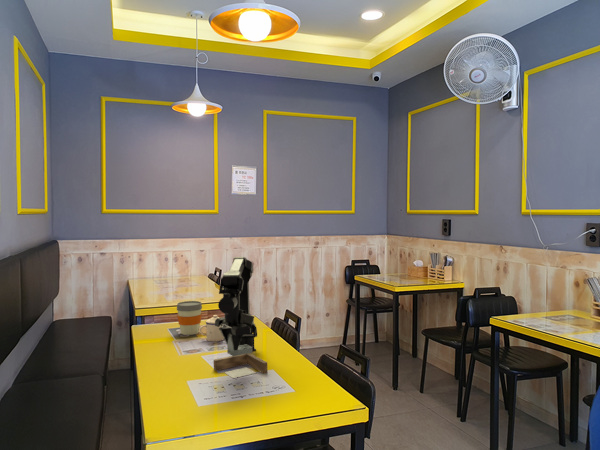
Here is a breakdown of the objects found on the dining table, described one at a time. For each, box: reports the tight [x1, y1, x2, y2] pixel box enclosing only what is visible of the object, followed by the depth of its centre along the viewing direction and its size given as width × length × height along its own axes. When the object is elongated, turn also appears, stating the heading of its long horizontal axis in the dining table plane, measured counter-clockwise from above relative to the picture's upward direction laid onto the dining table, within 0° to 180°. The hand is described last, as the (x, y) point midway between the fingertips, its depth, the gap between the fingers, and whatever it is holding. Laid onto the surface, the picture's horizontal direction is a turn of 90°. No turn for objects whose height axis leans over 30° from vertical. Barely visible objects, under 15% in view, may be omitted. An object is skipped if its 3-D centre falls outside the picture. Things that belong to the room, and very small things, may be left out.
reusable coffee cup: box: [176, 300, 203, 336], centre depth 235 cm, size 13×13×15 cm
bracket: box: [226, 335, 253, 356], centre depth 176 cm, size 8×5×7 cm, turn 125°
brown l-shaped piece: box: [213, 353, 269, 375], centre depth 178 cm, size 15×15×4 cm
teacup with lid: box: [199, 314, 225, 343], centre depth 222 cm, size 12×9×12 cm
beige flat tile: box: [223, 366, 257, 379], centre depth 176 cm, size 10×8×1 cm
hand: (232, 348), depth 174 cm, fingers closed on bracket, 5 cm apart
